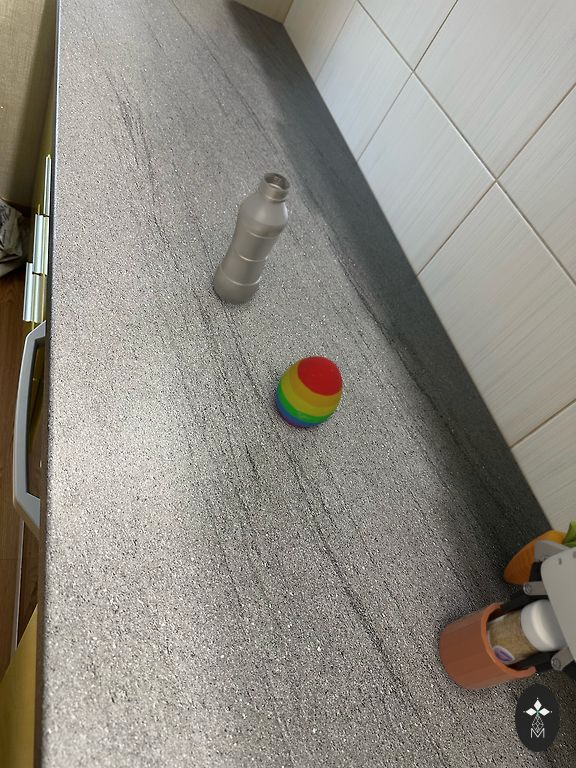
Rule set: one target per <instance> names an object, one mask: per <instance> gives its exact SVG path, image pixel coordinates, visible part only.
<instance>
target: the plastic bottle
mask: <svg viewBox="0 0 576 768" xmlns="http://www.w3.org/2000/svg"><path fill="white" fill-rule="evenodd" d="M291 187H292V183H291V182H290V180H289V179H288V178H287V177H286V176H285V175H282V174H281V173H278V172H276V171H267V172H265V173H264V174H263V175H262V177H261V179H260V182H259V183H258V186H257V191H254V192H253V193H251V194H249V195H248V196H246V197H245V199H243V201H242V202H241V203H240V204H239V208H238V211H237V216H236V221H235V227H234V231H233V234H232V238H231V241H230V244H229V246H228V249H227V250H226V252H225V254H224V257H223V258H222V259H221V261H220V262H219V264H218V265H217V268H216V269H215V271H214V273H213V281H212V285H213V288H214V291H215V292H216V294H217V295H218V296H219V298H221V299H222V300H223V301H226V302H229V303H232V304H242V303H246V302H248V301H250V300H252V298H253V297H254V296H255V295H256V293H257V292H258V290H259V287H260V282H261V278H262V273H263V270H264V267H265V264H266V262H267V259H268V258H269V255H270V254H271V252H272V250H273V248H274V246H275V245H276V243H277V242H278V241H279V239H280V238H281V236H282V234H283V233H284V232H285V230H286V228H287V226H288V223H289V214H288V209H287V206H286V202H287V200H288V198H289V193H290V190H291V189H292V188H291Z"/></svg>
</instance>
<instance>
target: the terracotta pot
mask: <svg viewBox="0 0 576 768" xmlns="http://www.w3.org/2000/svg"><path fill="white" fill-rule="evenodd" d="M504 603H506V602H505V601H502V602H501V601H500V602H493V603H491V604H489V605H486V606H484V607H481V608H480V609H479V608H478V609H477V610H474V611H473V612H470V613H468V614H466V615H464V616H461V617H459V618H458V619H455V620H454V621H451V622H450V623H448V624H447V625H446V626H445V627H443V629H442V631H441V633H440V636H439V641H438V652H439V658H440V660H441V664H442V666H443V668H444V670H445V672H446V673H447V674H448V676H449V677H450V679H452V680H453V681H454V682H455V683H456V684H457V685H458V686H460V687H462V688H464V689H466V690H470V691H479V690H483V689H488V688H492V687H495V686H500V685H503V684H506V683H510V682H513V681H517V680H518V681H519V680H520V679H525V678H529V677H531V676H532V675H533V674H534V673H536V669H535V667H528V668H521V666H520V662H521V661H518V662H516V663H513V664H509V665H506V666H505V665H504V664H503V663H502V662H501V661H500V660H498V659H497V657H496V655H495V654H494V652H493V651H492V649H491V648H490V645H489V642H488V639H487V636H486V623H487V622H489V621H491V620H494V619H496V618H499V617H501V616H504V615H506V614H509V613H513V612H516V611H513V612H503V611H501V608H500V606H499V605H501V604H504Z"/></svg>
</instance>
